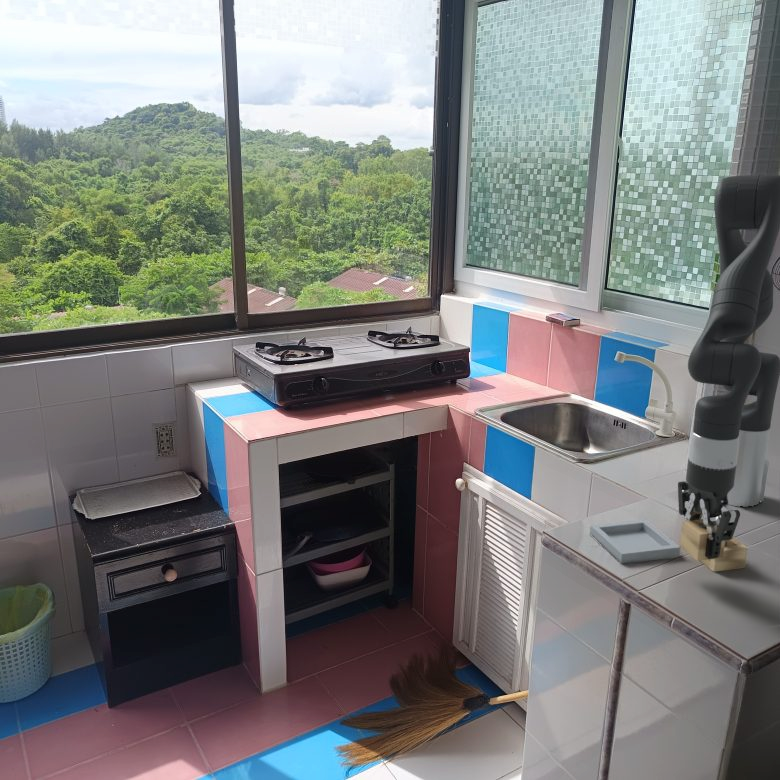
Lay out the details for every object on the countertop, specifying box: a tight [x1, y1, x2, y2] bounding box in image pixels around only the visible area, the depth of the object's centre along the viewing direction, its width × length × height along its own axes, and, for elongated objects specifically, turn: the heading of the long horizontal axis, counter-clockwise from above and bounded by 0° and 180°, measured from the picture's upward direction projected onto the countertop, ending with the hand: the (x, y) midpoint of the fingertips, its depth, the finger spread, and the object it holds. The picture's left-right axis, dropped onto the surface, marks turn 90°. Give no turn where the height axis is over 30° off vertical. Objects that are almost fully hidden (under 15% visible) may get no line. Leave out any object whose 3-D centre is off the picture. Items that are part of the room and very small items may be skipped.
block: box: [679, 518, 726, 562], centre depth 128 cm, size 5×5×5 cm
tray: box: [589, 519, 681, 565], centre depth 142 cm, size 12×12×2 cm
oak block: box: [700, 536, 749, 573], centre depth 136 cm, size 6×6×4 cm
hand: (701, 549), depth 128 cm, fingers closed on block, 5 cm apart
